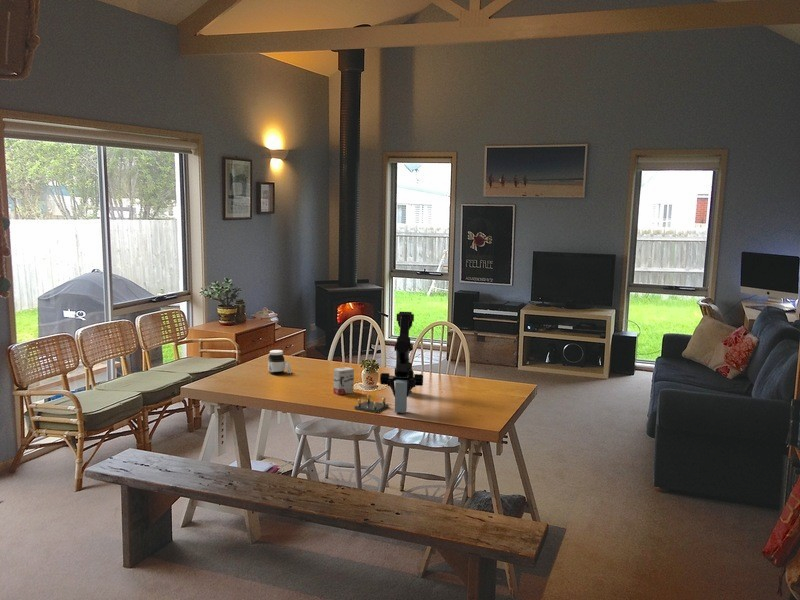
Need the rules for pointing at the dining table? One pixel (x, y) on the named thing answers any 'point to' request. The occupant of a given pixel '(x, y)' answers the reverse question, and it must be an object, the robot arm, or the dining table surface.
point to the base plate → (371, 405)
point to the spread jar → (277, 362)
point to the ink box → (343, 380)
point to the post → (400, 396)
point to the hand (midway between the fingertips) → (400, 396)
